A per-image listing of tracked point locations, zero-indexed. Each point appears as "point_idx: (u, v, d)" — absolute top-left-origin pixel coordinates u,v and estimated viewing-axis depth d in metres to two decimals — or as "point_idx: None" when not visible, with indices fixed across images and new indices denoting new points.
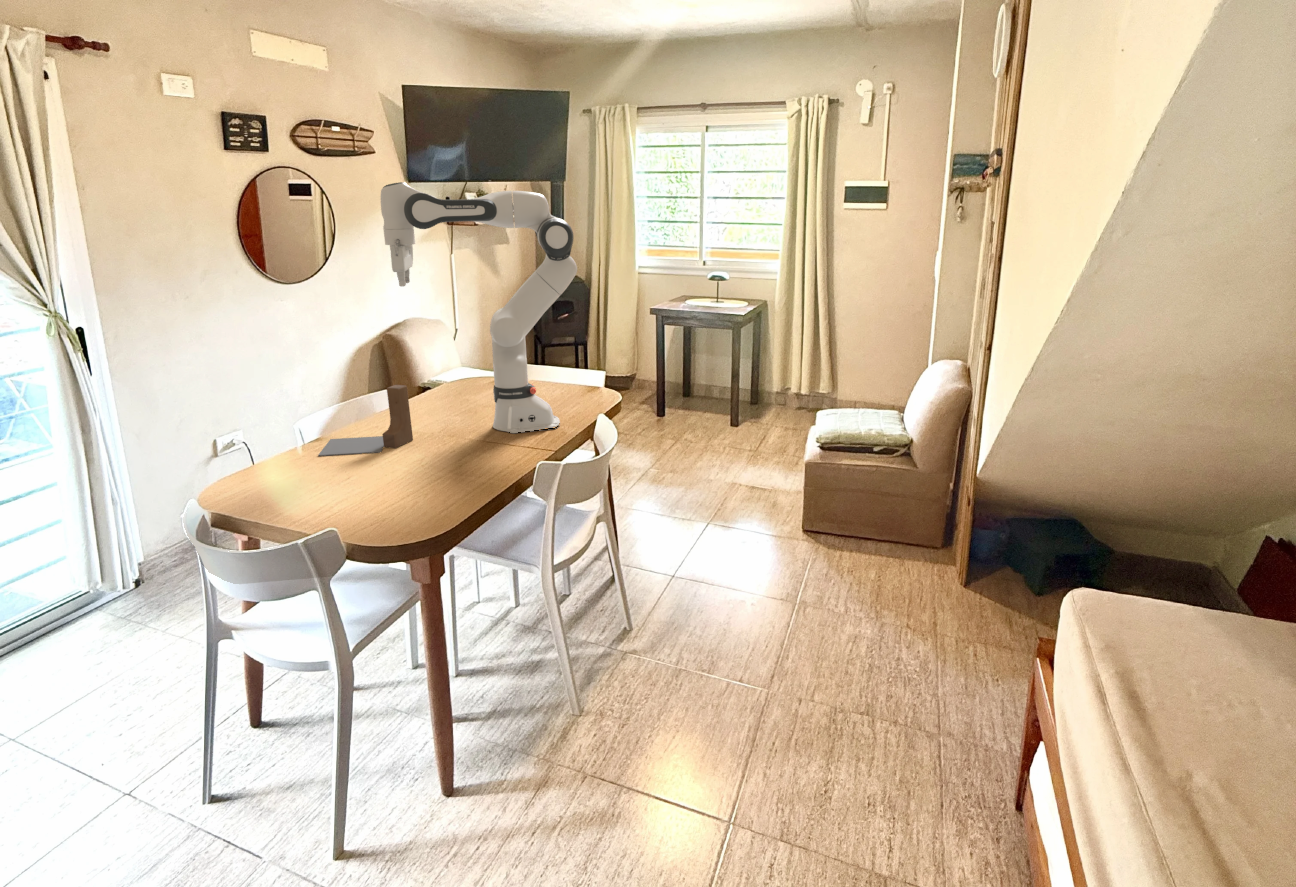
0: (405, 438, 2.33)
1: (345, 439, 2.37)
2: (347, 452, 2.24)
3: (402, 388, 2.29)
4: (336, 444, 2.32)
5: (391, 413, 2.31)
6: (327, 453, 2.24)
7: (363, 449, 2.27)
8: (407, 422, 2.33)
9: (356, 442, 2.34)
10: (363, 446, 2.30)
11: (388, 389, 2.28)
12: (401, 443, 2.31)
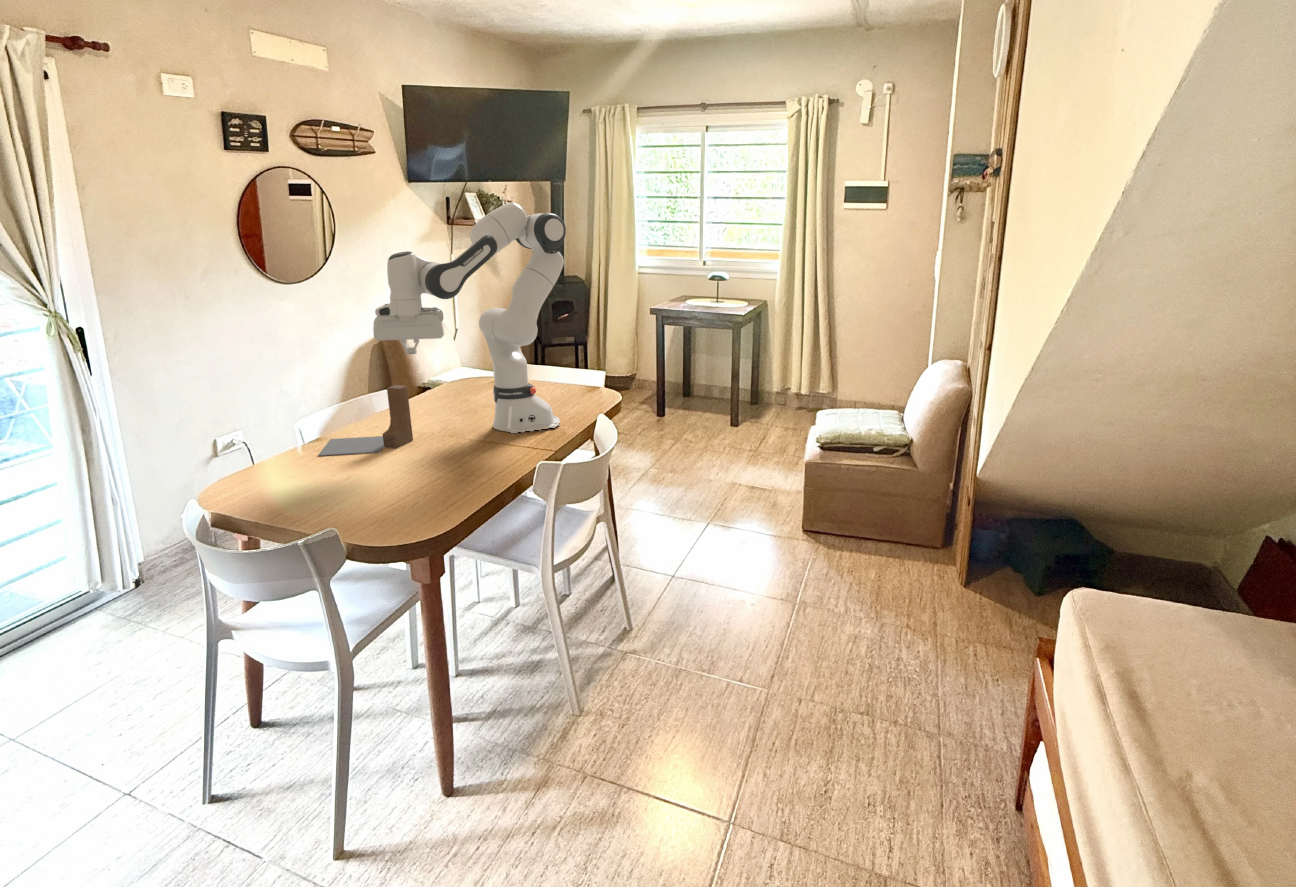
0: (405, 438, 2.33)
1: (345, 439, 2.37)
2: (347, 452, 2.24)
3: (402, 388, 2.29)
4: (336, 444, 2.32)
5: (391, 413, 2.31)
6: (327, 453, 2.24)
7: (363, 449, 2.27)
8: (408, 422, 2.33)
9: (356, 442, 2.34)
10: (363, 446, 2.30)
11: (388, 389, 2.28)
12: (401, 443, 2.31)
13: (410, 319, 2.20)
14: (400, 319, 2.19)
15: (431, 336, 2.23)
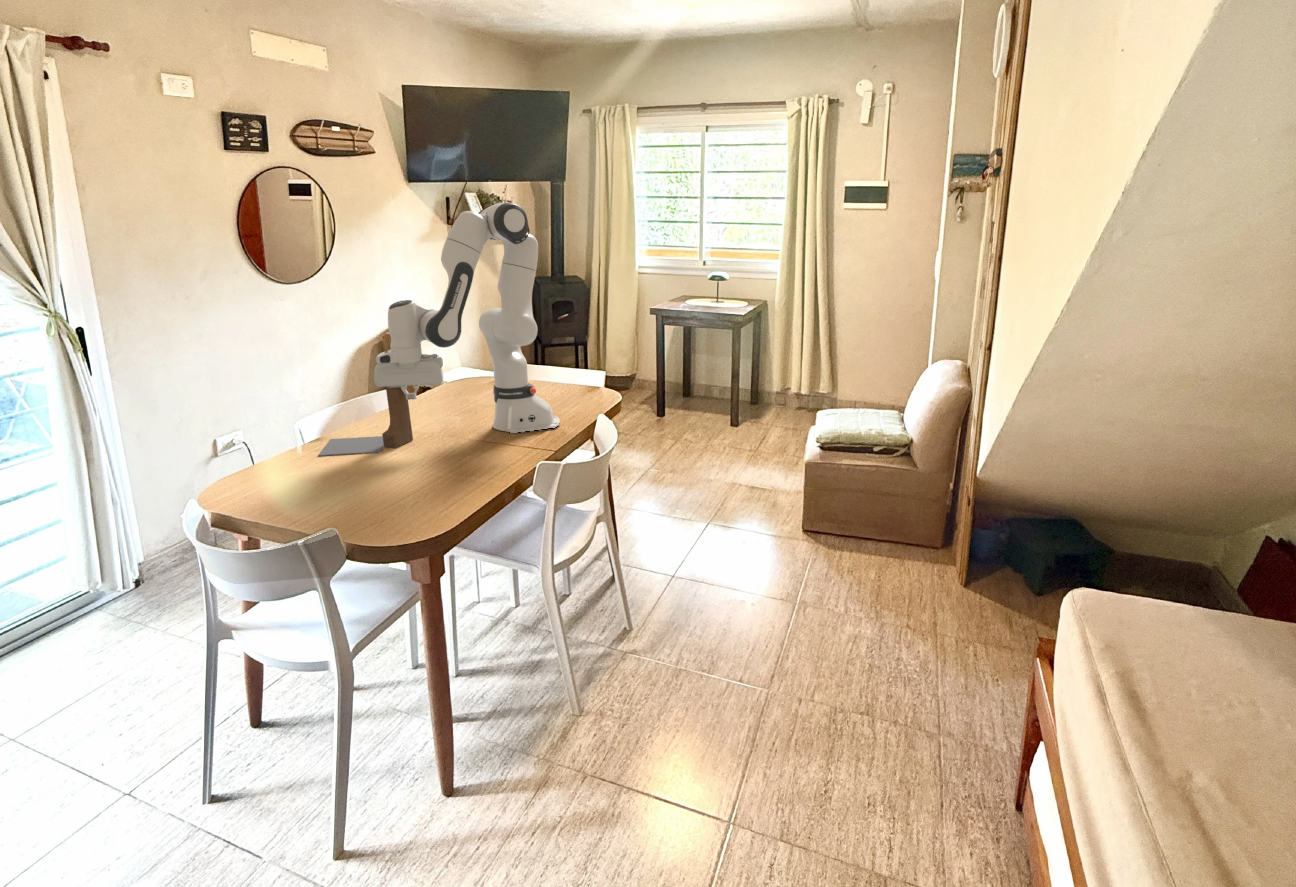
0: (405, 438, 2.33)
1: (345, 439, 2.37)
2: (347, 452, 2.24)
3: None
4: (336, 444, 2.32)
5: (391, 413, 2.31)
6: (327, 453, 2.24)
7: (363, 449, 2.27)
8: (407, 422, 2.33)
9: (356, 442, 2.34)
10: (363, 446, 2.30)
11: (387, 389, 2.28)
12: (401, 443, 2.31)
13: (410, 366, 2.24)
14: (400, 366, 2.24)
15: (431, 382, 2.27)
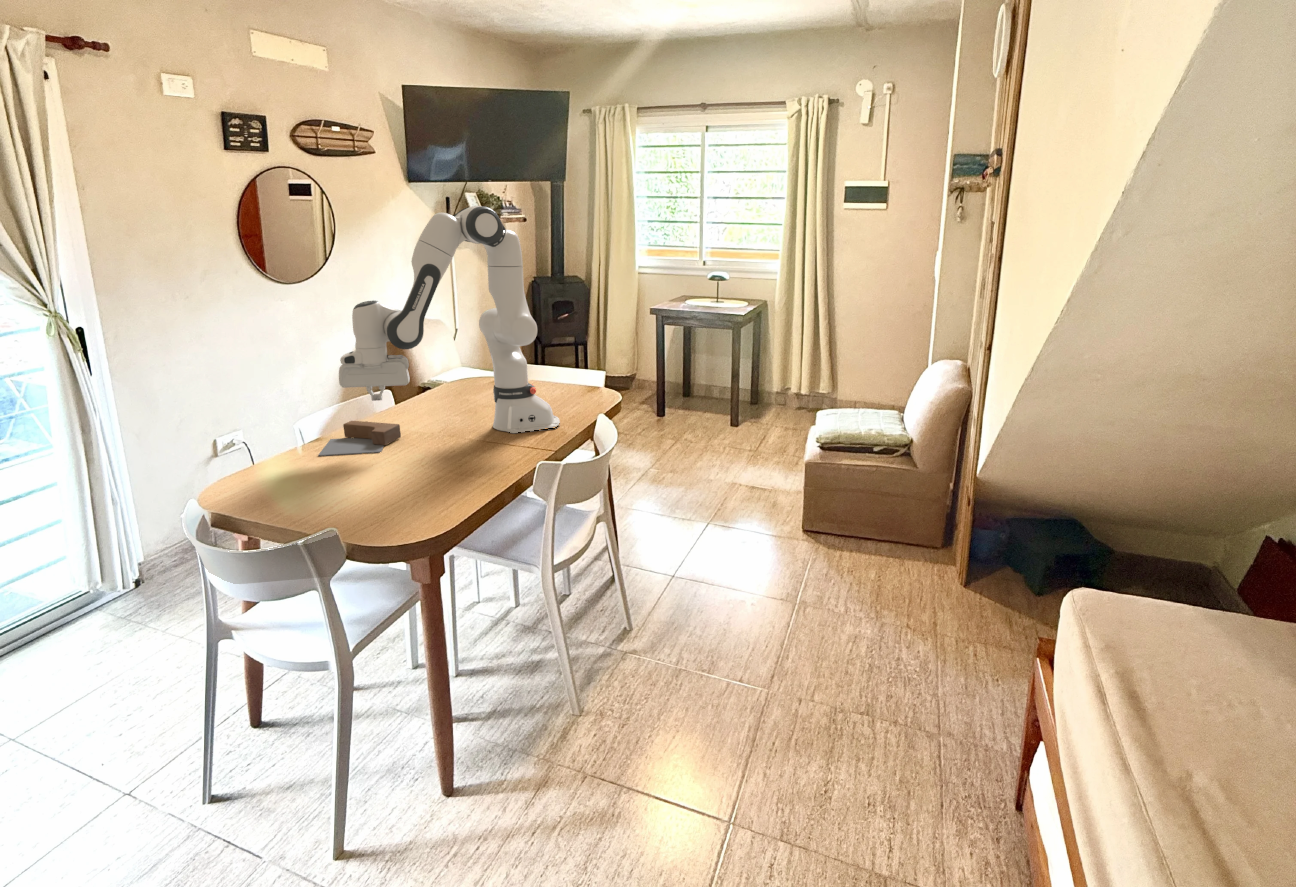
0: (388, 426, 2.34)
1: (345, 439, 2.37)
2: (347, 452, 2.24)
3: (347, 422, 2.39)
4: (336, 444, 2.32)
5: (366, 436, 2.36)
6: (327, 453, 2.24)
7: (363, 449, 2.27)
8: (379, 424, 2.37)
9: (356, 442, 2.34)
10: (363, 446, 2.30)
11: (345, 434, 2.38)
12: (387, 429, 2.32)
13: (375, 367, 2.22)
14: (365, 367, 2.22)
15: (396, 383, 2.26)
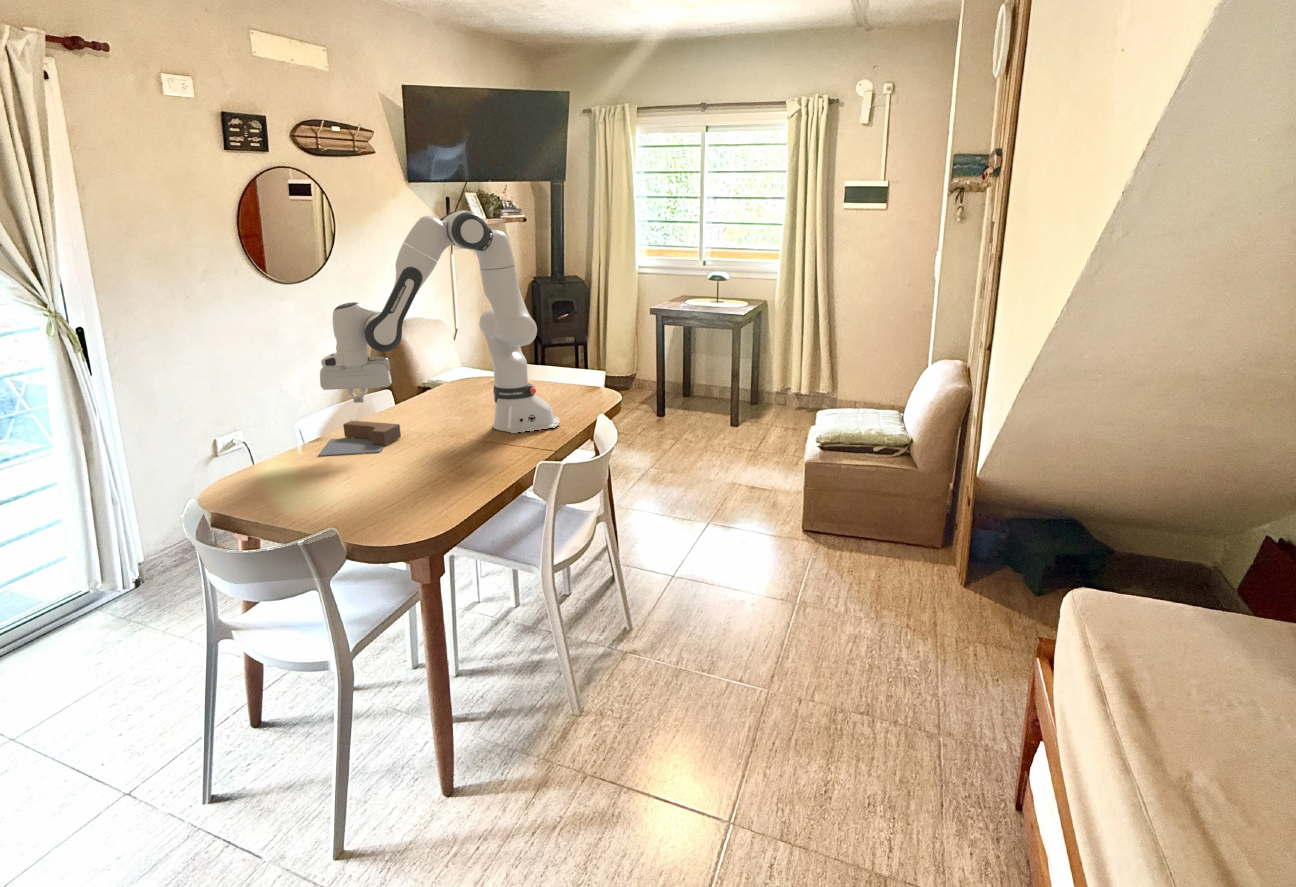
0: (388, 426, 2.34)
1: (345, 439, 2.37)
2: (347, 452, 2.24)
3: (347, 422, 2.39)
4: (336, 444, 2.32)
5: (366, 436, 2.36)
6: (327, 453, 2.24)
7: (363, 449, 2.27)
8: (379, 424, 2.37)
9: (356, 442, 2.34)
10: (363, 446, 2.30)
11: (345, 434, 2.38)
12: (387, 429, 2.32)
13: (356, 369, 2.21)
14: (346, 369, 2.21)
15: (378, 385, 2.25)
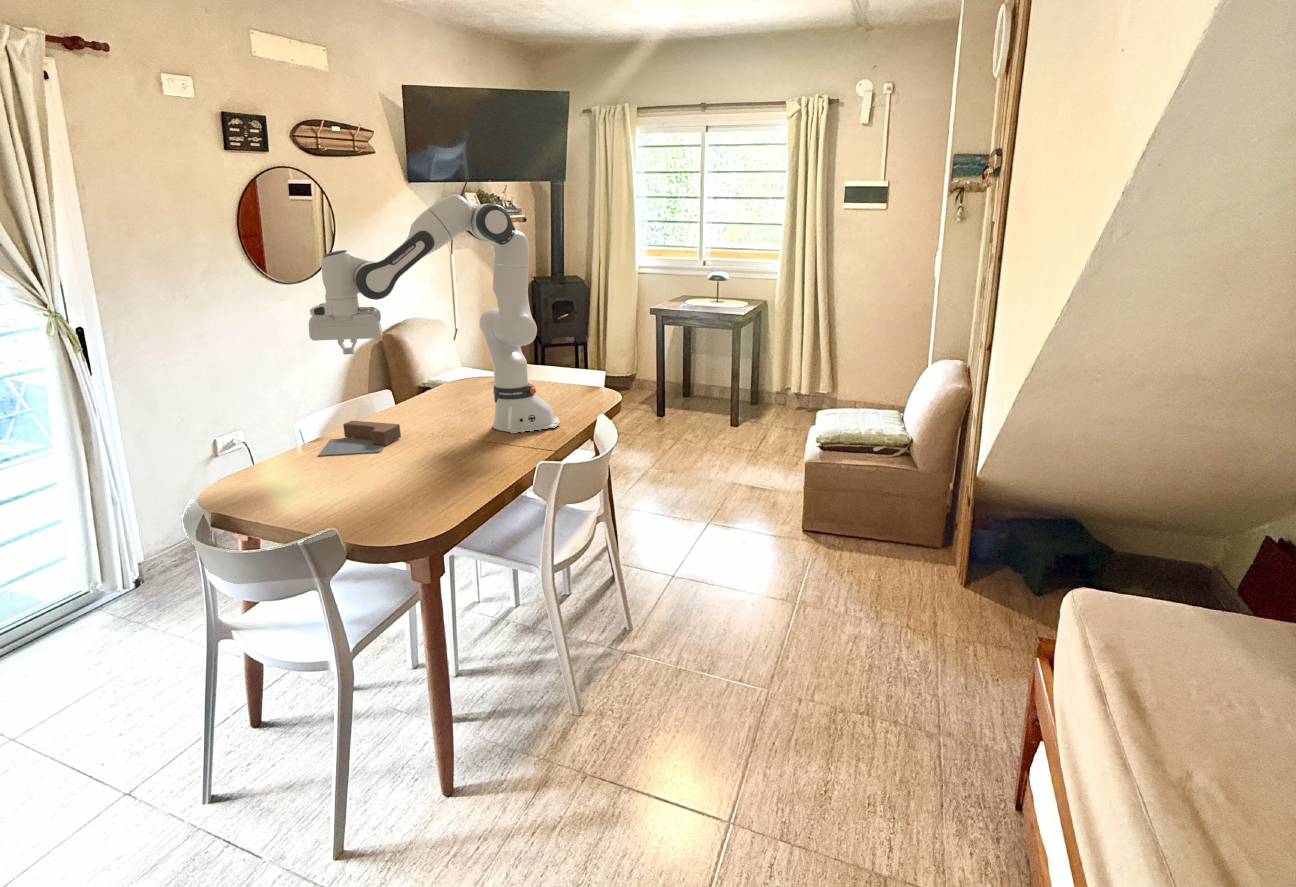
0: (388, 426, 2.34)
1: (345, 439, 2.37)
2: (347, 452, 2.24)
3: (347, 422, 2.39)
4: (336, 444, 2.32)
5: (366, 436, 2.36)
6: (327, 453, 2.24)
7: (363, 449, 2.27)
8: (379, 424, 2.37)
9: (356, 442, 2.34)
10: (363, 446, 2.30)
11: (345, 434, 2.38)
12: (387, 429, 2.32)
13: (346, 319, 2.17)
14: (336, 319, 2.16)
15: (368, 336, 2.20)
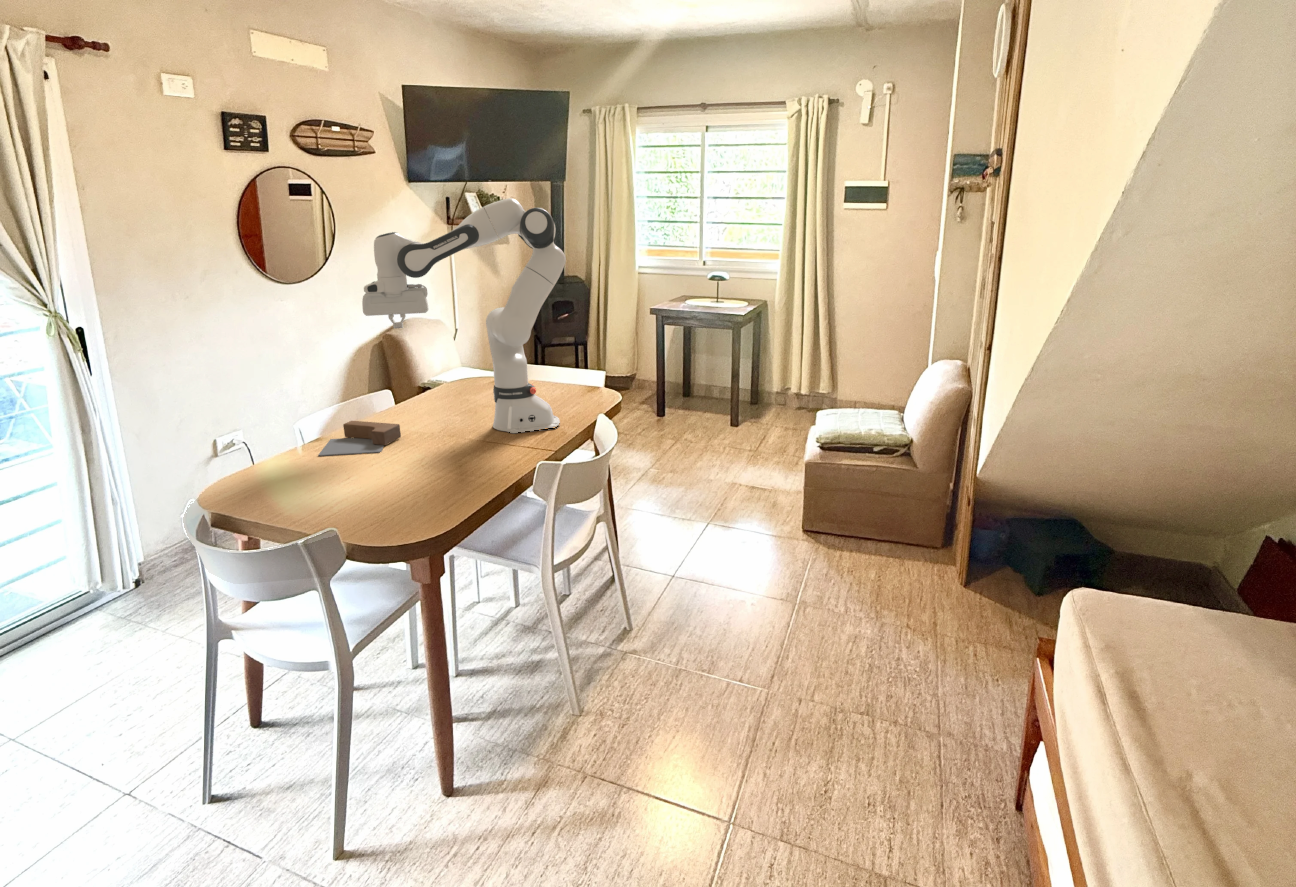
0: (388, 426, 2.34)
1: (345, 439, 2.37)
2: (347, 452, 2.24)
3: (347, 422, 2.39)
4: (336, 444, 2.32)
5: (366, 436, 2.36)
6: (327, 453, 2.24)
7: (363, 449, 2.27)
8: (379, 424, 2.37)
9: (356, 442, 2.34)
10: (363, 446, 2.30)
11: (345, 434, 2.38)
12: (387, 429, 2.32)
13: (396, 295, 2.36)
14: (387, 295, 2.36)
15: (416, 311, 2.40)
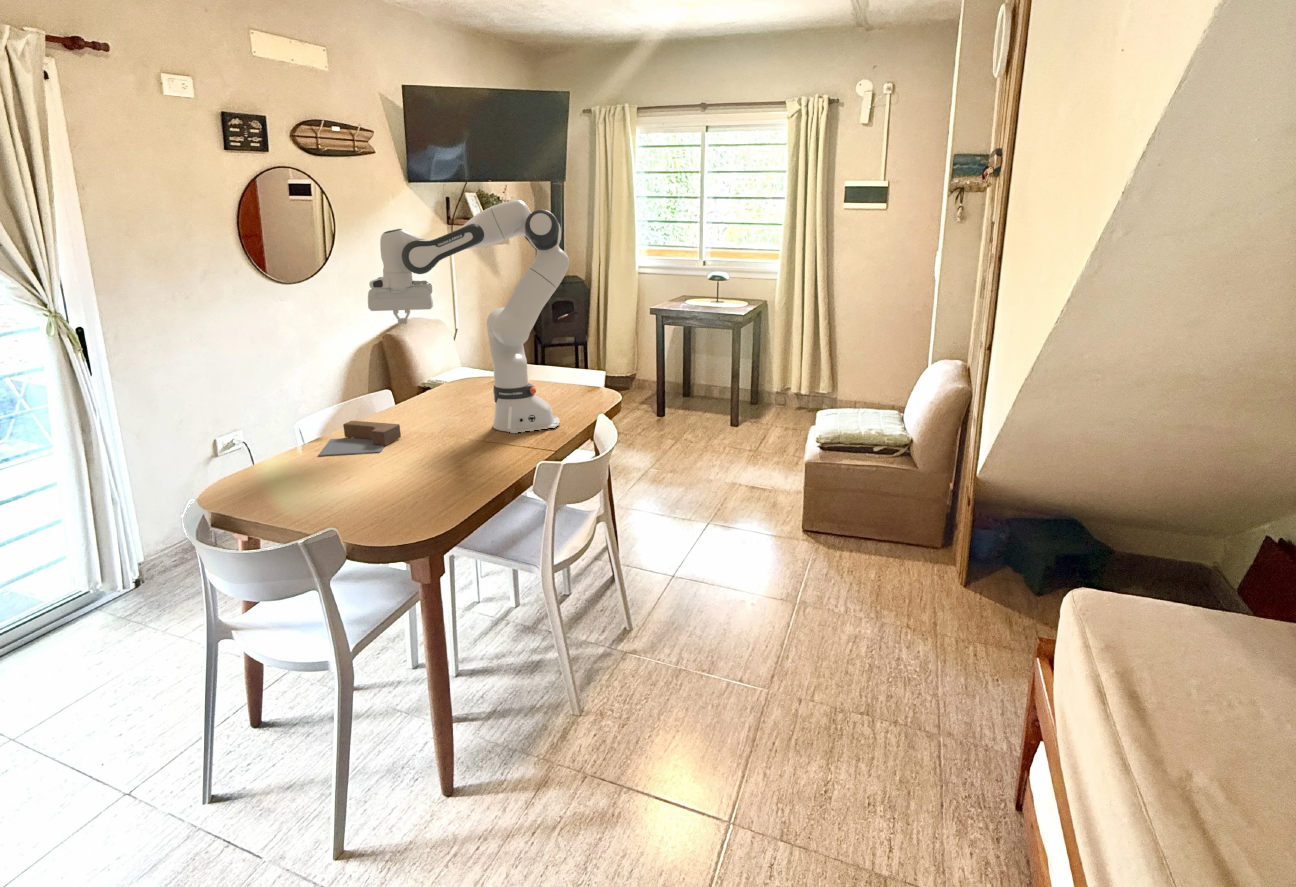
0: (388, 426, 2.34)
1: (345, 439, 2.37)
2: (347, 452, 2.24)
3: (347, 422, 2.39)
4: (336, 444, 2.32)
5: (366, 436, 2.36)
6: (327, 453, 2.24)
7: (363, 449, 2.27)
8: (379, 424, 2.37)
9: (356, 442, 2.34)
10: (363, 446, 2.30)
11: (345, 434, 2.38)
12: (387, 429, 2.32)
13: (401, 291, 2.39)
14: (392, 291, 2.38)
15: (421, 307, 2.42)
